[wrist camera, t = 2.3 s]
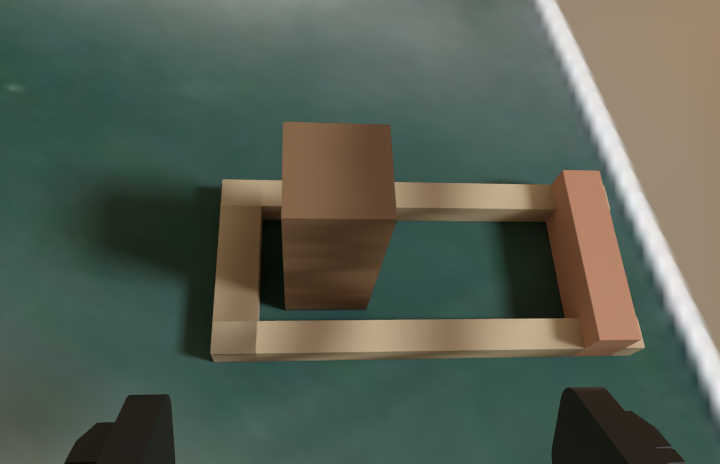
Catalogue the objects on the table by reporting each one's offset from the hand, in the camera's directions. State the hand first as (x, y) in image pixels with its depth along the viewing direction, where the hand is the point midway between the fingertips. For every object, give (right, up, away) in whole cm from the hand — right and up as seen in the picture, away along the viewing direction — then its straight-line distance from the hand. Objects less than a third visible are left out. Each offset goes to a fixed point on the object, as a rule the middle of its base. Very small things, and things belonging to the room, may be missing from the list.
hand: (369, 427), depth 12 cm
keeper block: (-2, +2, +18) cm, 18 cm away
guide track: (+3, +2, +19) cm, 19 cm away
